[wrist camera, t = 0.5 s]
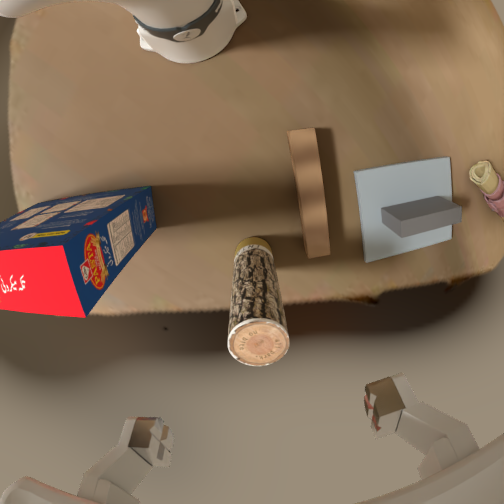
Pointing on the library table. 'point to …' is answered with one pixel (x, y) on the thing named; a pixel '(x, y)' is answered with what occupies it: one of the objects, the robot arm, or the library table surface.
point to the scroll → (489, 185)
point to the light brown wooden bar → (309, 191)
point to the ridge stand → (405, 206)
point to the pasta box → (71, 250)
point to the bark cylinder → (256, 307)
